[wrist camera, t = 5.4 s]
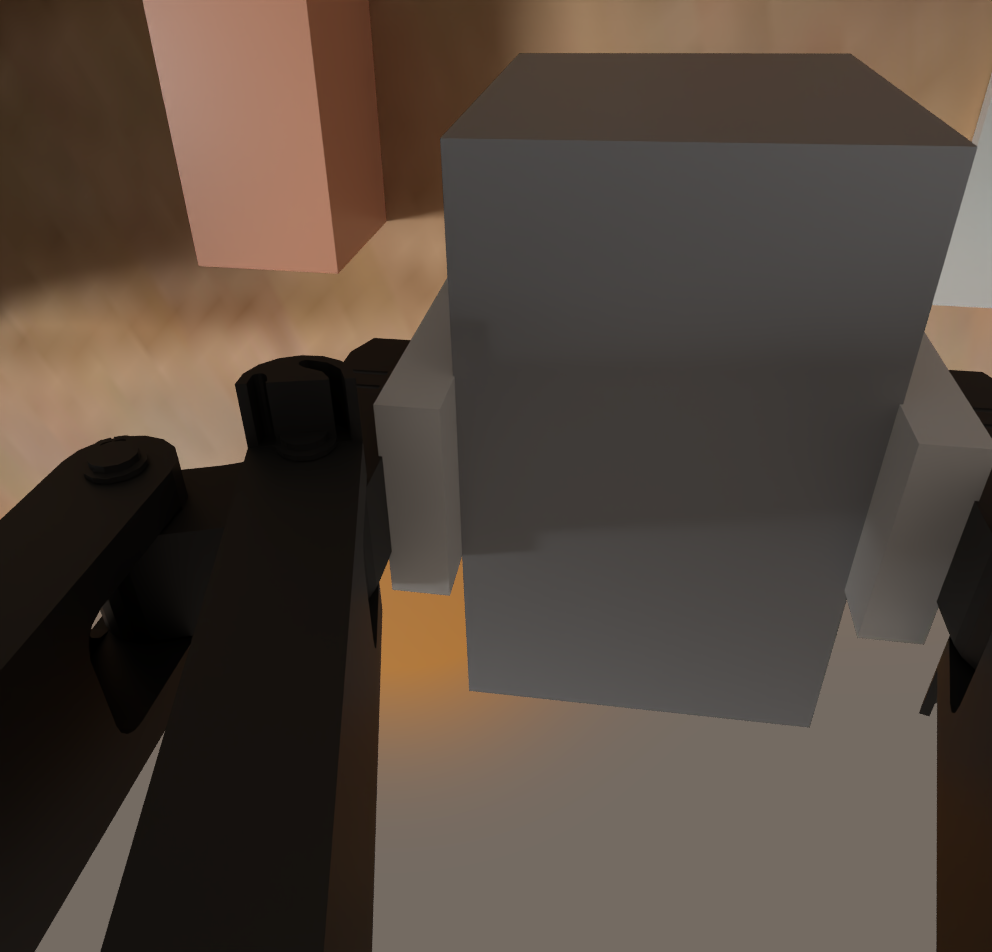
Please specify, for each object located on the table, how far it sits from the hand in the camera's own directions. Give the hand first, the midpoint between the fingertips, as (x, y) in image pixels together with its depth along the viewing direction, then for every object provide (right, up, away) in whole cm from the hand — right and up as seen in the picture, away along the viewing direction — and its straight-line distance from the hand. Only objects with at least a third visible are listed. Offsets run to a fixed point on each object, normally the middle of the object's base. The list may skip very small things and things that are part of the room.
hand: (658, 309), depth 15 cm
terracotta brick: (-10, +11, +16) cm, 22 cm away
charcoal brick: (0, 0, 0) cm, 0 cm away
